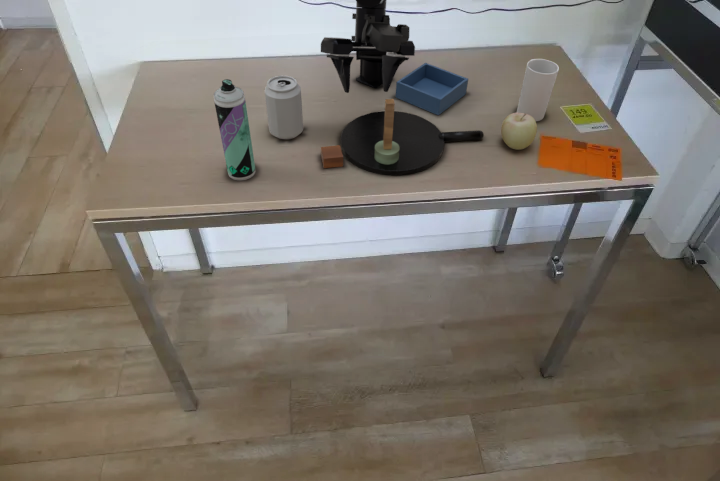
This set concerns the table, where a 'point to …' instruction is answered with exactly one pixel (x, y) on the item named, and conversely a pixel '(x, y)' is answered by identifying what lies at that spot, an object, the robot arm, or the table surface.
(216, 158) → the table surface
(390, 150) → the dish brush
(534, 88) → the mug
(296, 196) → the table surface
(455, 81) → the bin
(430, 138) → the griddle pan
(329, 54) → the robot arm
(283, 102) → the can
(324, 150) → the reddish brown square block
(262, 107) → the table surface
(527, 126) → the fruit
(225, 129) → the spray can
